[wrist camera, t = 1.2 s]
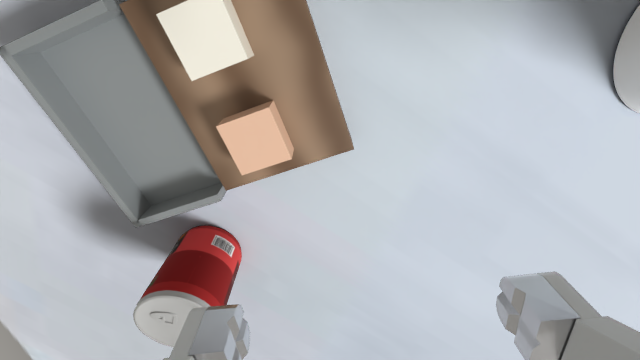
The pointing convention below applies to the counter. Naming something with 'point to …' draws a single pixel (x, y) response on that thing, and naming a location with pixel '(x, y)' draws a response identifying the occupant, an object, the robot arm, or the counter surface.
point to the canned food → (188, 282)
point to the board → (253, 83)
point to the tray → (116, 112)
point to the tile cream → (206, 35)
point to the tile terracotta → (256, 138)
